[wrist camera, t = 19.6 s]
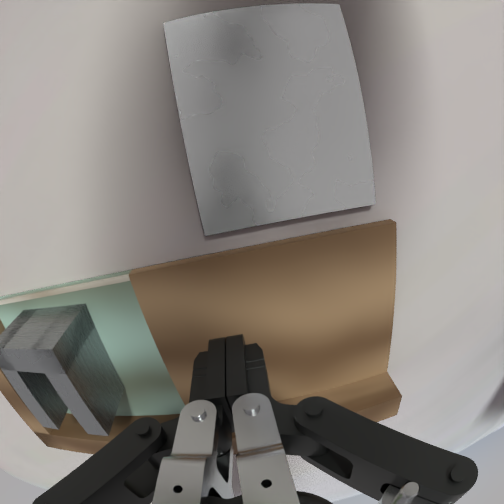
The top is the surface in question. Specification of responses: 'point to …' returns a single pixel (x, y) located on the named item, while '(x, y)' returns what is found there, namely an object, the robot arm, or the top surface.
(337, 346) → the wooden tray
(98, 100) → the top surface
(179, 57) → the grey concrete tile
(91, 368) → the clip
